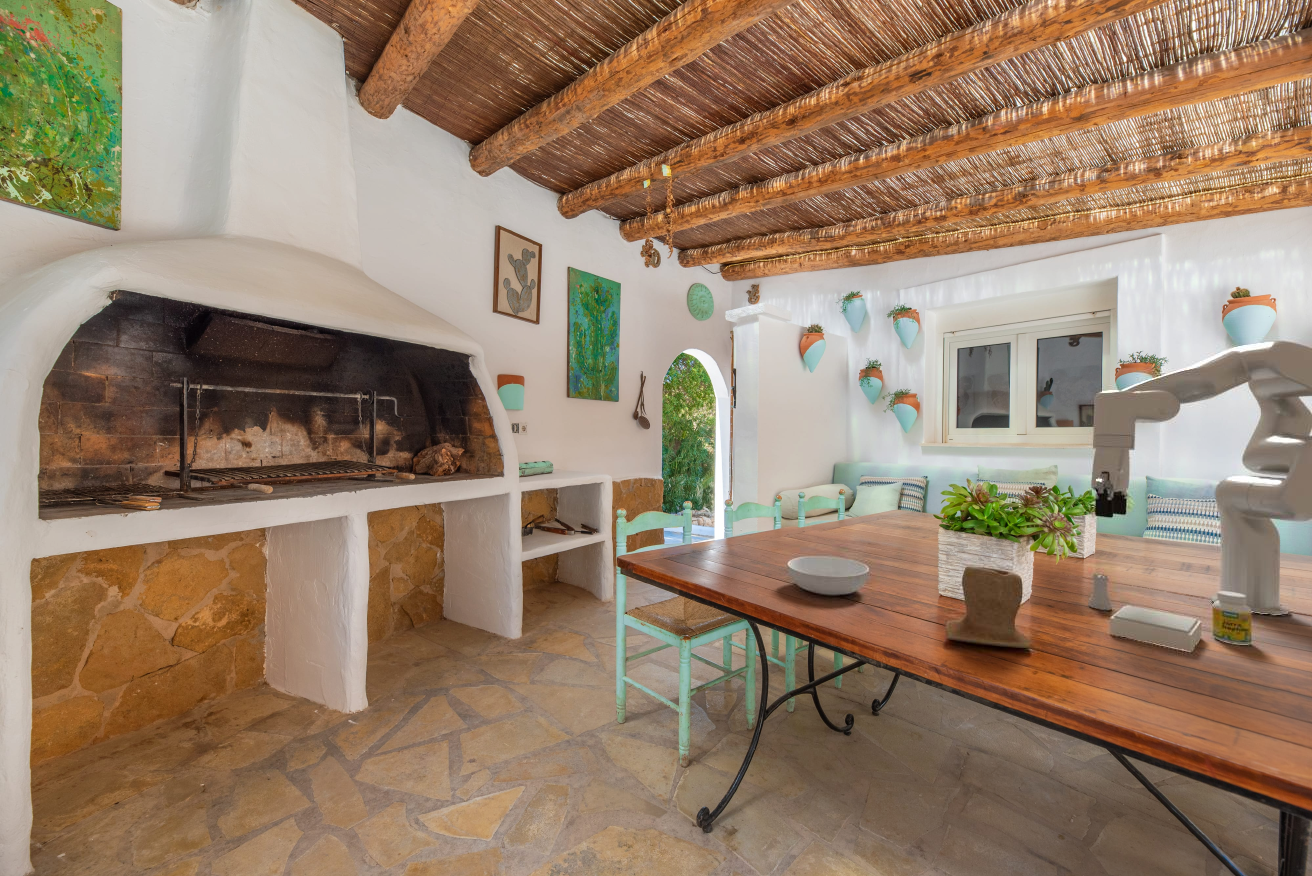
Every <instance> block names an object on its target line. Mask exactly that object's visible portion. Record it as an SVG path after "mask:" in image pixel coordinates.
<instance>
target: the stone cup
mask: <svg viewBox="0 0 1312 876" xmlns="http://www.w3.org/2000/svg"><path fill="white" fill-rule="evenodd" d="M961 585H962V591H963V598H964V602H965V603H964V604H965V611H966V614H965V616H964V617H963V618H962V619H959V620H948V621H946V623H945V635H946V639H947V640H950V641H957V642H962V643H969V644H976V645H977V644H978V645H982V646H983V645H984V646H992V647H993V646H994V647H1005V648H1006V647H1007V648H1018V649H1026V648H1027V649H1028V648H1031V645H1032V642H1031V641H1030V639H1029V638H1028V636H1026V635H1025V634H1023V633H1021V632H1020V631H1018V630H1017V629H1016V617H1017V614H1018V612H1019V609H1020V606H1021V604H1022V601H1023V595H1024V593H1023V591H1024V589H1023V580H1022V577H1021V576H1020V575H1019V574H1018V573H1015V572H1013V571H1009V570H1004V569H999V568H990V567H984V566H983V567H982V566H974V565H973V566H972V565H967V566H966V567H965V569H964V571H963V573H962V578H961Z"/></svg>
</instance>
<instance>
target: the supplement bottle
mask: <svg viewBox="0 0 1312 876" xmlns="http://www.w3.org/2000/svg"><path fill="white" fill-rule="evenodd" d="M1216 595H1217V598H1218V599H1219V601H1216V602H1214V603H1213V602H1212V638H1214V637H1215V638H1217V639H1219V640H1222V641H1227V642H1230V643H1237V644H1250V645H1252V640H1253V639H1252V636H1253V635H1252V613H1251V609H1250V608H1249V607H1248V606H1246V605H1244V604H1245V603H1246V596H1245V595H1243V594H1239V593H1235V592H1227V591H1220V590H1218V591H1217V593H1216ZM1215 638H1214V639H1215Z"/></svg>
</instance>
